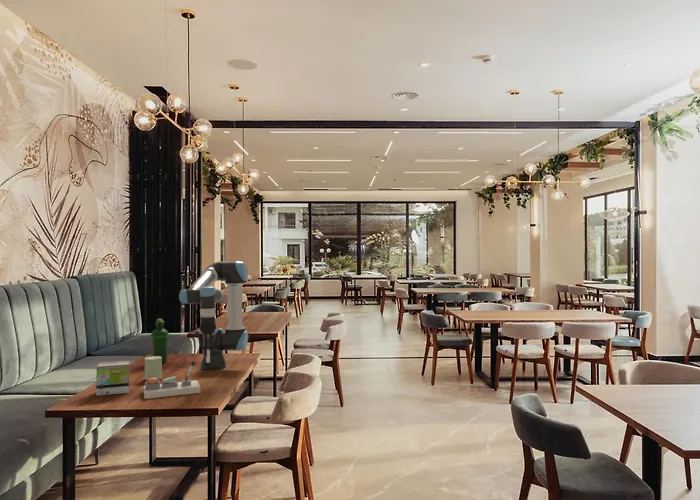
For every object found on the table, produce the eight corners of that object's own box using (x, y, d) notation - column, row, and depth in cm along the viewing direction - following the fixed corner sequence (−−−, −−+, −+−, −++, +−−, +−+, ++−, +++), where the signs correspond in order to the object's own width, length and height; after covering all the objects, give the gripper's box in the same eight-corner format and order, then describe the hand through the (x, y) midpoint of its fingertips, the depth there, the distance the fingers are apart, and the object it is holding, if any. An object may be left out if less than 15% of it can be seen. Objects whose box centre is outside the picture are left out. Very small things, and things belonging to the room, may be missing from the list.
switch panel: (196, 385, 269) (196, 374, 269) (200, 392, 256) (200, 380, 256) (143, 391, 258) (143, 380, 258) (144, 399, 245) (144, 386, 245)
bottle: (162, 360, 335) (162, 317, 335) (172, 362, 328) (171, 318, 329) (147, 363, 326) (147, 319, 326) (157, 365, 320) (157, 320, 320)
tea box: (96, 396, 250) (95, 366, 251) (97, 391, 260) (97, 362, 260) (129, 393, 256) (129, 363, 257) (129, 388, 266) (129, 359, 266)
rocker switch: (175, 378, 260) (175, 375, 260) (176, 379, 256) (175, 377, 256) (163, 381, 257) (162, 379, 257) (163, 383, 254) (163, 380, 254)
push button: (157, 383, 257) (157, 377, 257) (157, 385, 252) (157, 379, 252) (147, 384, 255) (147, 378, 255) (147, 386, 250) (147, 380, 250)
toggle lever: (187, 380, 261) (195, 361, 263) (187, 381, 259) (196, 362, 261) (183, 378, 261) (191, 360, 262) (183, 379, 258) (192, 361, 260)
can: (156, 380, 281) (155, 358, 281) (141, 380, 283) (140, 358, 283) (165, 376, 290) (165, 355, 290) (150, 376, 292) (150, 355, 292)
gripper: (195, 317, 258) (195, 364, 258) (221, 316, 264) (222, 362, 263) (193, 316, 265) (194, 362, 265) (219, 315, 271) (219, 359, 270)
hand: (208, 362), depth 264 cm, fingers closed
